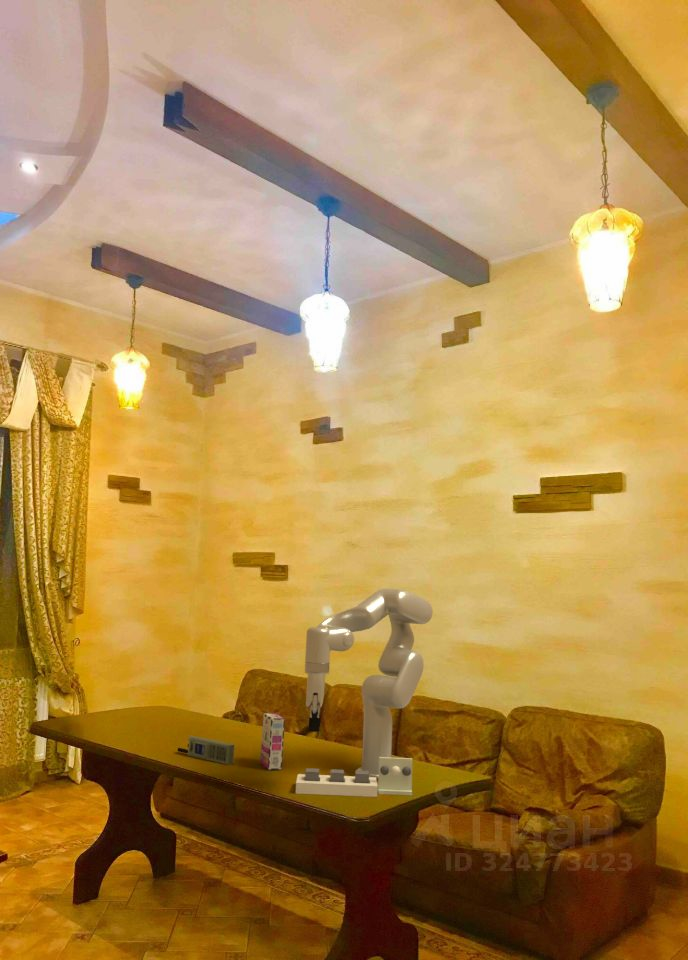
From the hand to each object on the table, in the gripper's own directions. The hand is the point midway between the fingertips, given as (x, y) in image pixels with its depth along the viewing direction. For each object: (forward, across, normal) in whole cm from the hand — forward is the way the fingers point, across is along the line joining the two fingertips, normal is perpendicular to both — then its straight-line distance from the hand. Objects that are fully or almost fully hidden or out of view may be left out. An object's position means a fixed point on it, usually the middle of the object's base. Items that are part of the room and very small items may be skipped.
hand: (314, 728), depth 218 cm
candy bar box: (+18, -26, -15) cm, 35 cm away
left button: (+15, 0, 0) cm, 15 cm away
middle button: (+15, 0, +8) cm, 17 cm away
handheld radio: (+18, -33, -38) cm, 54 cm away
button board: (+18, 0, +8) cm, 19 cm away
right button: (+15, 0, +15) cm, 21 cm away
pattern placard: (+18, 0, +25) cm, 31 cm away
